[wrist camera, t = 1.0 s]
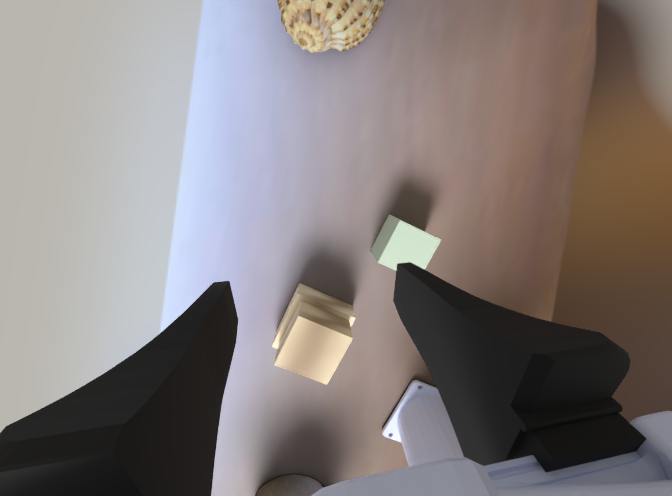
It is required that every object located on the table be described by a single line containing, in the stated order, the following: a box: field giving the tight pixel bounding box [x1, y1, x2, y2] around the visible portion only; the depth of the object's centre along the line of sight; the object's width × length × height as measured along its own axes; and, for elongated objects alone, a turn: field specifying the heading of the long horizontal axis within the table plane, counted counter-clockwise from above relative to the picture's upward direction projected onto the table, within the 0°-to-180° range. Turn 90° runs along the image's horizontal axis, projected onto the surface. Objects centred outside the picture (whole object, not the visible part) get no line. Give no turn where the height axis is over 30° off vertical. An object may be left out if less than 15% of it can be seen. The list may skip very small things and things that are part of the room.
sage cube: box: [370, 214, 441, 270], centre depth 26 cm, size 4×4×4 cm
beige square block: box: [274, 301, 353, 385], centre depth 25 cm, size 5×5×3 cm
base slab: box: [272, 283, 356, 349], centre depth 28 cm, size 6×6×3 cm
